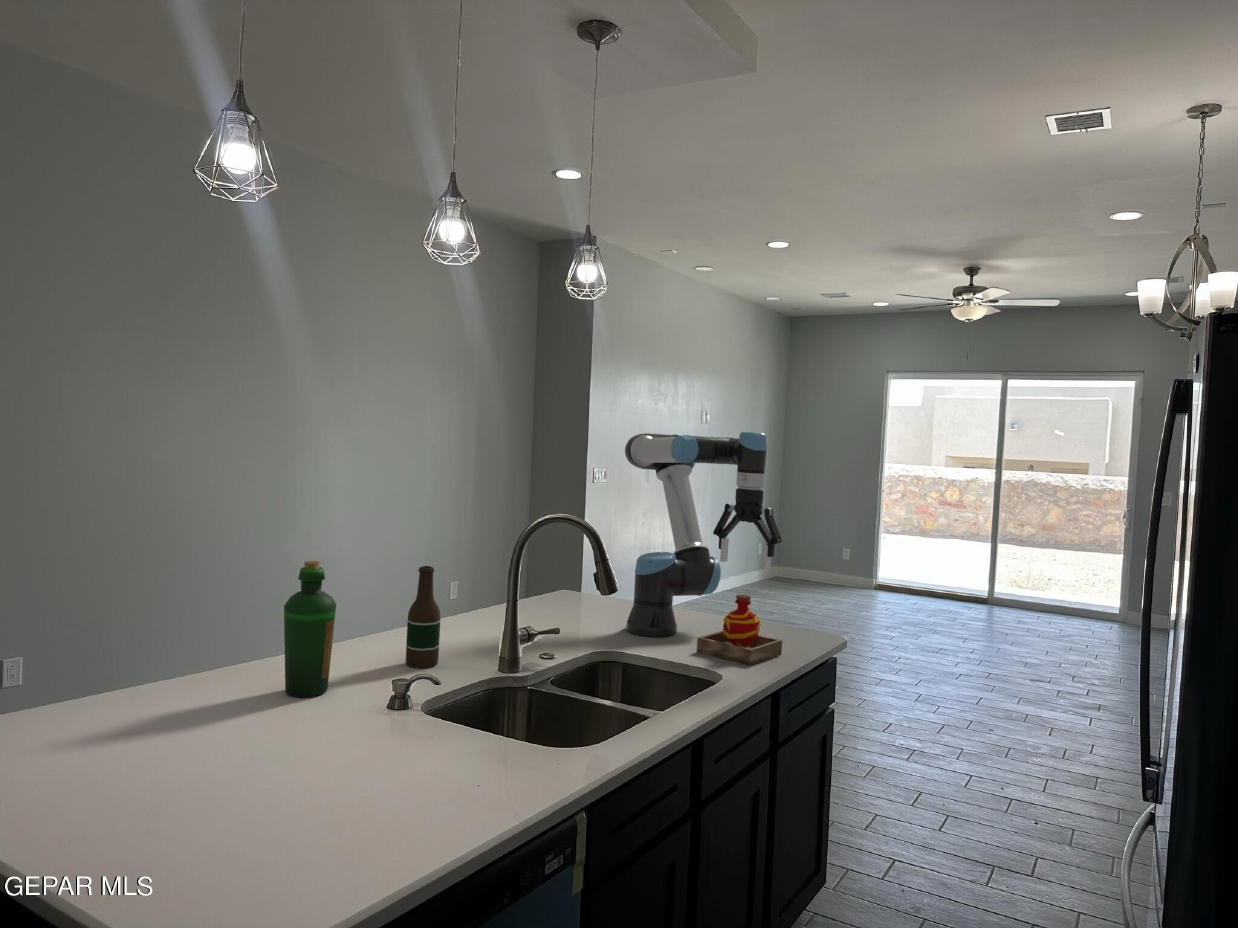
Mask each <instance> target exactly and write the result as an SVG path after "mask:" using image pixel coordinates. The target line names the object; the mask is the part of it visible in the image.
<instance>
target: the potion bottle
mask: <svg viewBox="0 0 1238 928" xmlns="http://www.w3.org/2000/svg"><path fill="white" fill-rule="evenodd" d="M735 597H736V599H735V601H734V603H735V604H737V608H736V609H735V610H731V611H730V612H728V613H727V615H725V616H724V618H723V619H722V620H723V626H722V627H723V628H722V631H723V634H724V635H725V636H726V637H727V638H728V640H729V641H730V642H731V643H732V644H733V645H736V646H740V647H744V648H748V645H749V644H750V643H751V642H753V641H754V639H755V638H756V637H757V636H758V635H759V633H760V629H761V628H760V627H761V624H762V623H761V621H760V619H759V617H758V615H757V614H756V613H755V614H754V613H753V612H752V611H751V608H749V606H750V605H752V601H751V597H752V596H751V595H748V594H736V595H735ZM748 649H749V648H748Z"/></svg>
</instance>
